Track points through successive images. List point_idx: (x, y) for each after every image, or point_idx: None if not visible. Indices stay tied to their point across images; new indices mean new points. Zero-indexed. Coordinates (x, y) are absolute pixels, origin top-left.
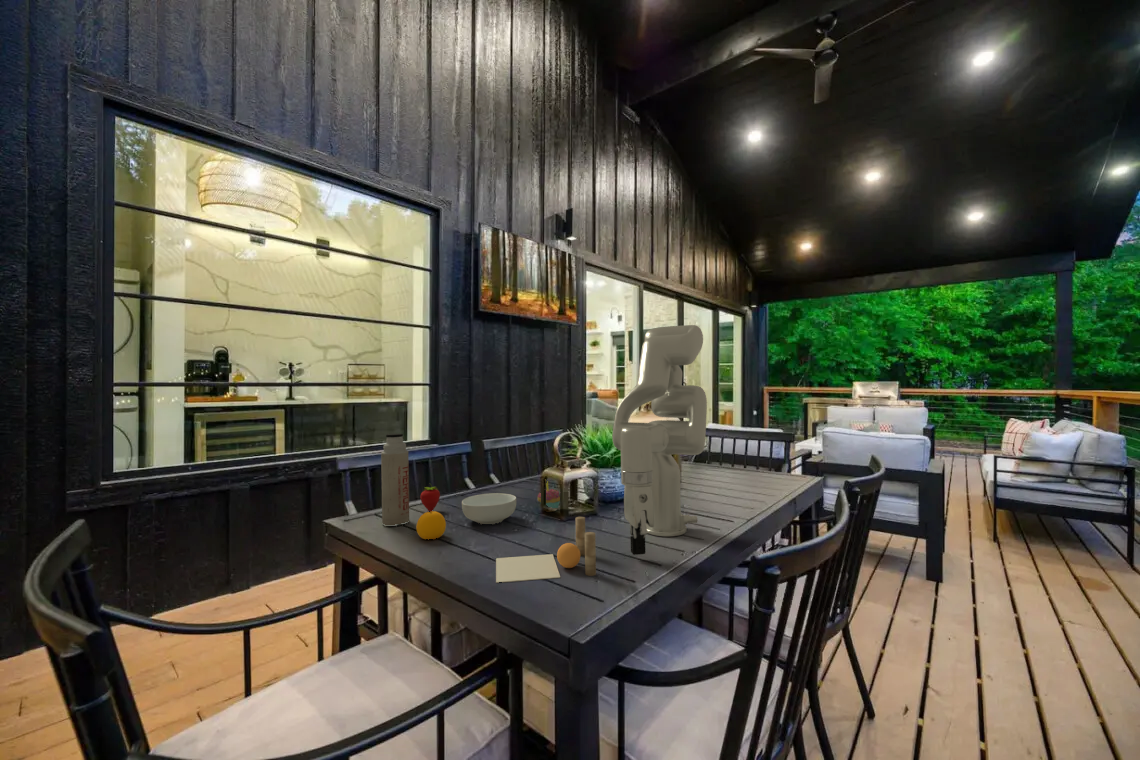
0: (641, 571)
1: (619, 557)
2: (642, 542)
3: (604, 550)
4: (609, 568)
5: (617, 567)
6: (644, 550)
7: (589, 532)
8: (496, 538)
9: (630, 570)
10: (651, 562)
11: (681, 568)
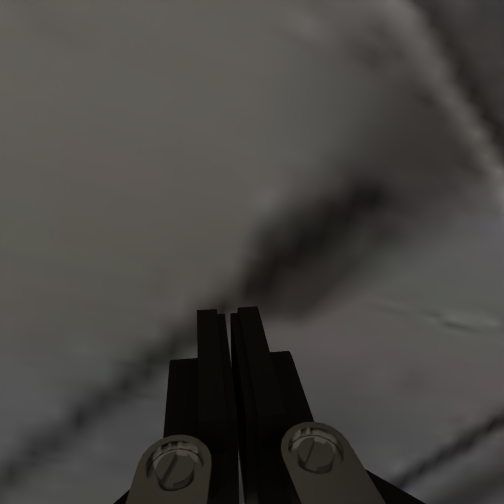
0: (429, 343)
1: None
2: (307, 409)
3: (16, 494)
4: None
5: None
6: (259, 325)
7: None
8: None
9: (391, 396)
10: (305, 245)
11: (499, 36)
